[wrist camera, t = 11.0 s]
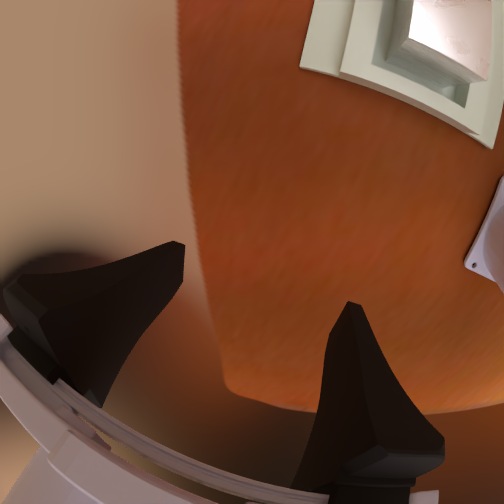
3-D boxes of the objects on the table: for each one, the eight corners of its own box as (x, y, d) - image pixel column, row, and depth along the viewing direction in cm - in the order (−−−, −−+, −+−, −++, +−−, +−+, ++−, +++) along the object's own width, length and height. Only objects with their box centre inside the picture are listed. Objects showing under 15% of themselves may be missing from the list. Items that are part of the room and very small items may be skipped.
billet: (452, 17, 8) (490, -10, 3) (442, 88, 11) (487, 80, 6) (397, -8, 8) (417, -50, 3) (385, 62, 12) (408, 37, 7)
